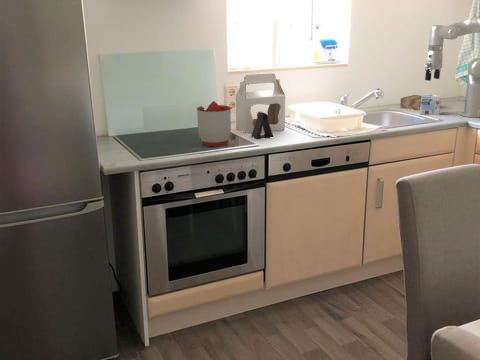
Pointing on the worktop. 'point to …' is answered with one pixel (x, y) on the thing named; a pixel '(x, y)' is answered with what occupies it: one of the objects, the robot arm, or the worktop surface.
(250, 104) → the gable box
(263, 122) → the black a-shaped stand
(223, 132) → the citrus juicer
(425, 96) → the light bulb box
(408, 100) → the walnut stand
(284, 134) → the worktop surface
